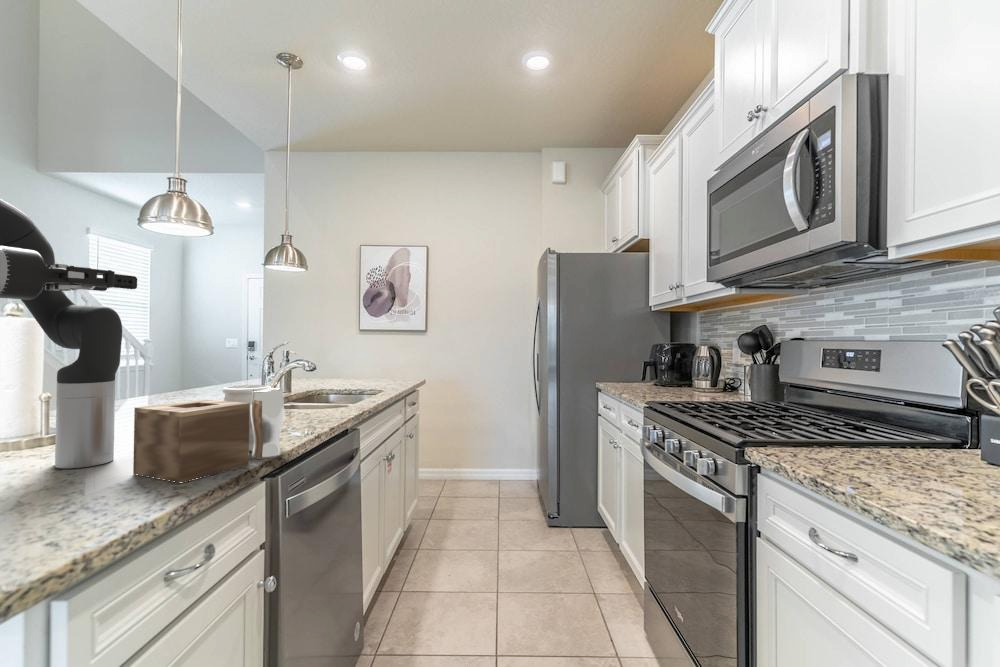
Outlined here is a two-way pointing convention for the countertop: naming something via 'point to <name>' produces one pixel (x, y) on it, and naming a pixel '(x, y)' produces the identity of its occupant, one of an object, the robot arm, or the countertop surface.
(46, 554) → the countertop surface
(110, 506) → the countertop surface
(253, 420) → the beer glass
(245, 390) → the jar
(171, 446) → the slot box
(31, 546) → the countertop surface
